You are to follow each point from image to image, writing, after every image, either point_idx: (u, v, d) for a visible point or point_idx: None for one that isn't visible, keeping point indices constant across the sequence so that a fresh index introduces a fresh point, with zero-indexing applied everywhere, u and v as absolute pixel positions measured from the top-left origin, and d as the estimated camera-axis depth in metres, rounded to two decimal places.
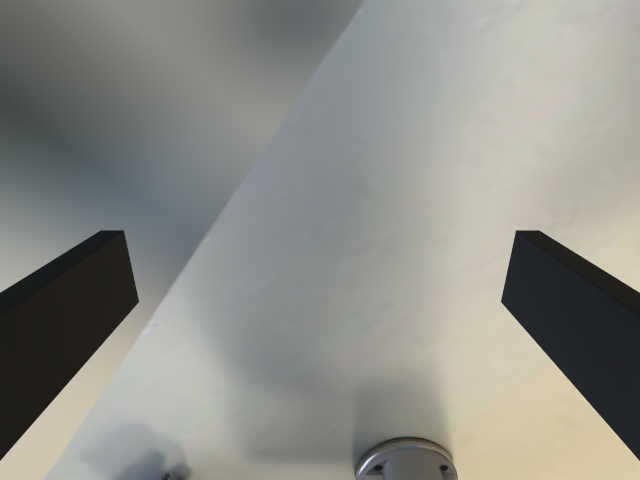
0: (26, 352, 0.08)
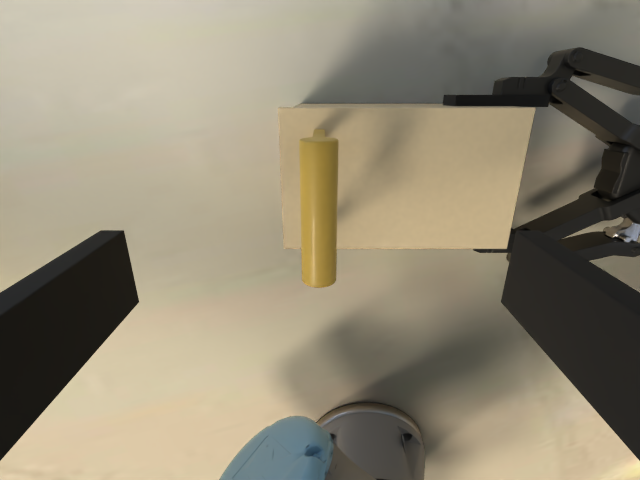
0: (26, 352, 0.08)
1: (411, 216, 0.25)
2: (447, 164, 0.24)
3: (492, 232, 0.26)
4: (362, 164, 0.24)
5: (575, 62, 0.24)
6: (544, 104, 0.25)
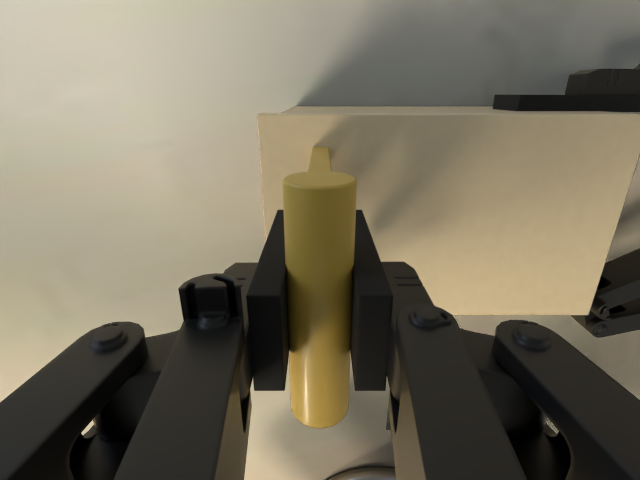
0: None
1: (454, 270, 0.17)
2: (511, 198, 0.16)
3: (569, 293, 0.18)
4: (384, 197, 0.16)
5: None
6: None
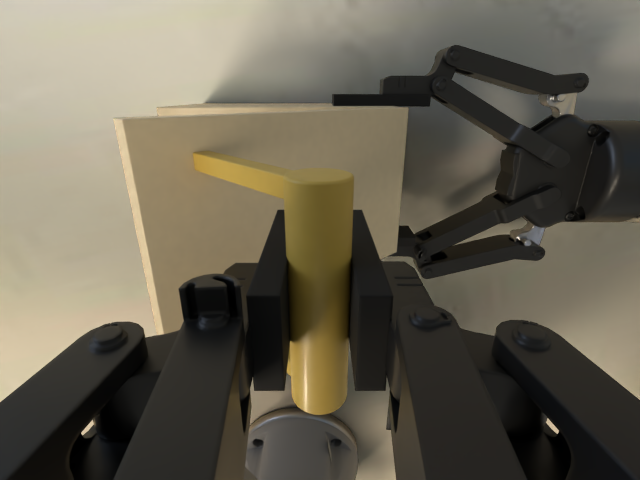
0: (287, 297, 0.10)
1: None
2: None
3: (386, 240, 0.24)
4: (265, 194, 0.17)
5: (453, 60, 0.24)
6: (425, 104, 0.25)
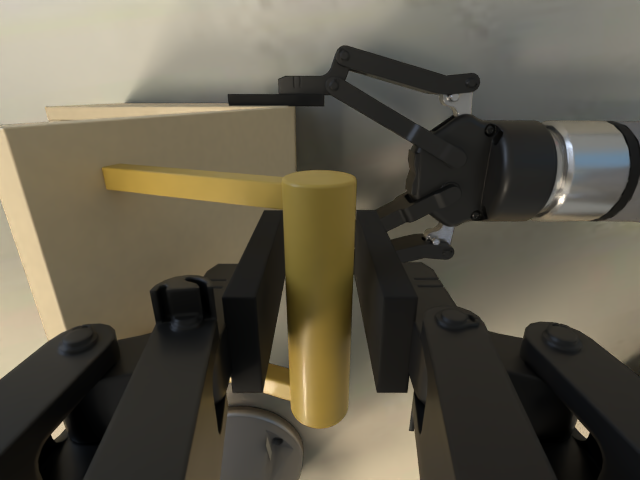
0: (268, 298, 0.10)
1: (240, 256, 0.19)
2: None
3: None
4: (183, 208, 0.14)
5: (343, 60, 0.24)
6: (320, 103, 0.25)
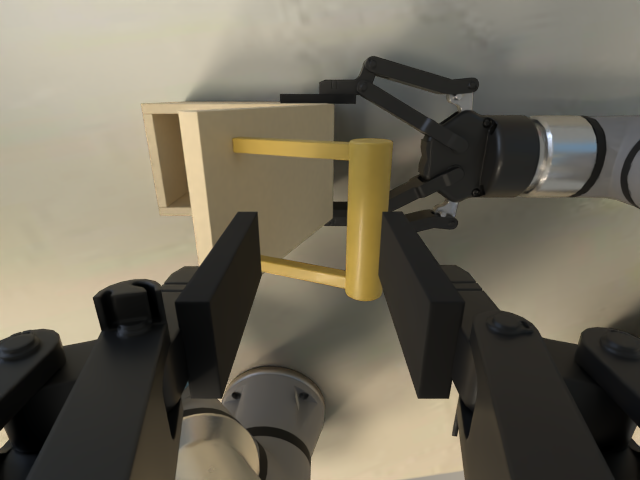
0: (232, 302, 0.10)
1: (296, 213, 0.26)
2: (308, 157, 0.26)
3: (327, 208, 0.31)
4: (268, 171, 0.21)
5: (371, 68, 0.30)
6: (352, 101, 0.31)
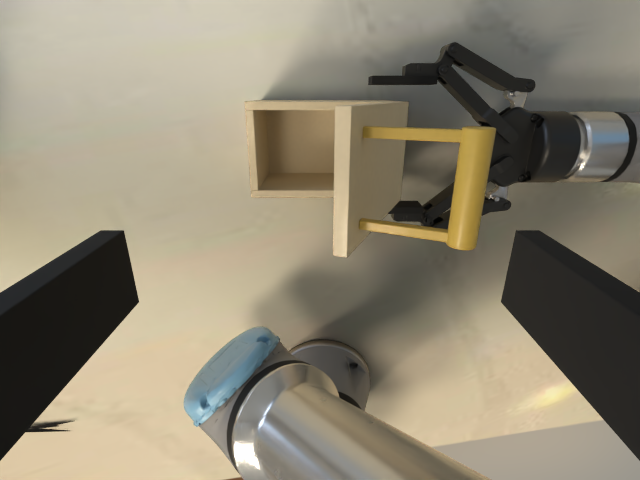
0: (26, 352, 0.08)
1: (384, 191, 0.31)
2: (393, 146, 0.31)
3: (399, 190, 0.36)
4: (375, 154, 0.27)
5: (452, 52, 0.35)
6: (434, 82, 0.36)
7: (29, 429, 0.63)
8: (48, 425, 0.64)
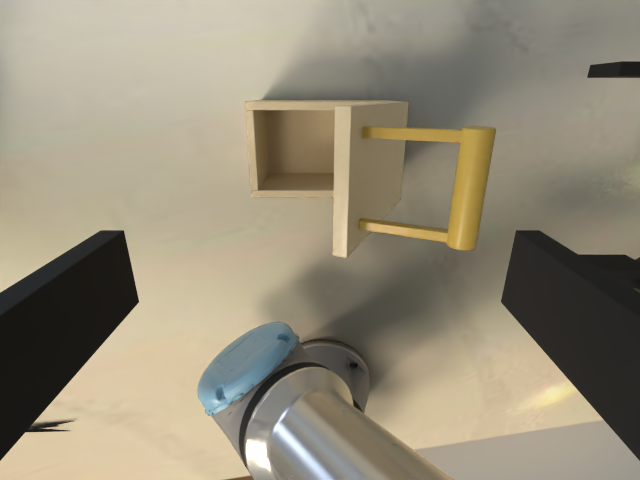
0: (26, 352, 0.08)
1: (384, 191, 0.31)
2: (393, 146, 0.31)
3: (398, 190, 0.36)
4: (374, 154, 0.27)
5: None
6: None
7: (29, 429, 0.63)
8: (48, 425, 0.64)
